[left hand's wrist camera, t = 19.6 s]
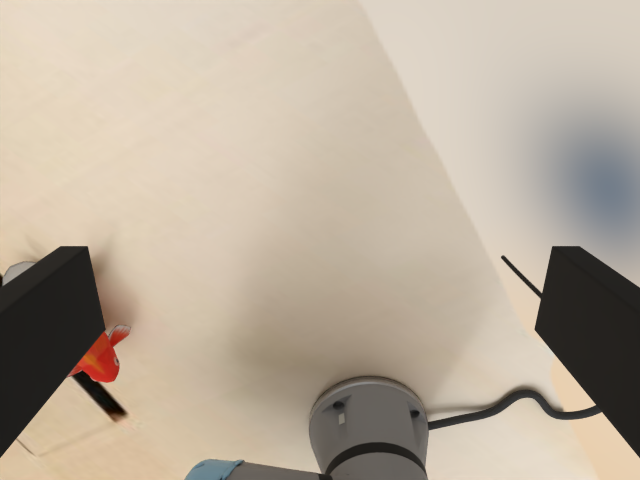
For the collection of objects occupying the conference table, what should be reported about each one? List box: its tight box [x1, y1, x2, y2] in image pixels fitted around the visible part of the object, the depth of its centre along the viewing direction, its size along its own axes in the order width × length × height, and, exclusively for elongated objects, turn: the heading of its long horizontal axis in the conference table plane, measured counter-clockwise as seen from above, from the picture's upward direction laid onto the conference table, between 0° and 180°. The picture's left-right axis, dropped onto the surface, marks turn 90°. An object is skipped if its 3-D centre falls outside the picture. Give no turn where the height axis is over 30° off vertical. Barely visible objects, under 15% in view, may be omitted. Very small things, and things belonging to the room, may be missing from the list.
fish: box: [2, 262, 131, 383], centre depth 47 cm, size 11×16×10 cm
